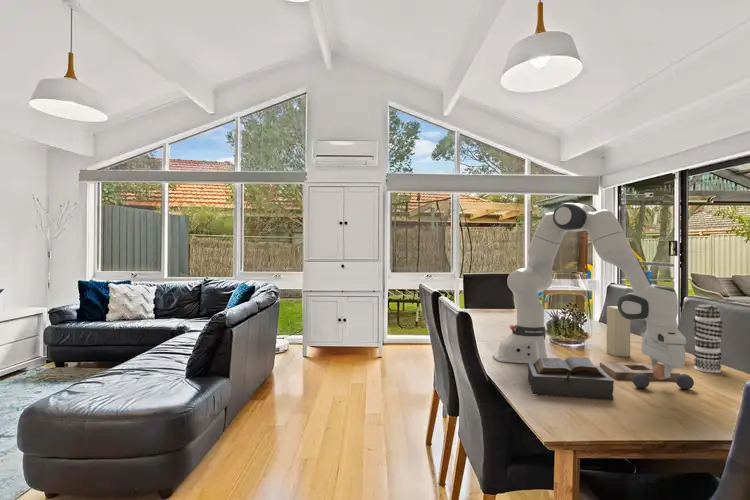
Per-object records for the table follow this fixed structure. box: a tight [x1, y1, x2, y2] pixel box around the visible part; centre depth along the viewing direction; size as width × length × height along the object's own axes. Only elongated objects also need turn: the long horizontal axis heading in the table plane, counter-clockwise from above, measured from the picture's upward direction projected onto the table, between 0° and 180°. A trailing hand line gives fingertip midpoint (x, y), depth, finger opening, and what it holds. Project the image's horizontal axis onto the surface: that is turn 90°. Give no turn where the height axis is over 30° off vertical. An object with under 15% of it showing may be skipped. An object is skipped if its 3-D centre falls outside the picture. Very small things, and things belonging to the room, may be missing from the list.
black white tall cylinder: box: [692, 304, 723, 374], centre depth 174 cm, size 9×9×25 cm
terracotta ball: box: [652, 363, 666, 379], centre depth 151 cm, size 5×5×5 cm
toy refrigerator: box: [606, 305, 632, 357], centre depth 199 cm, size 8×7×21 cm
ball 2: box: [675, 373, 695, 390], centre depth 150 cm, size 5×5×5 cm
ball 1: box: [631, 373, 651, 389], centre depth 152 cm, size 5×5×5 cm
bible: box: [527, 356, 615, 401], centre depth 151 cm, size 23×27×10 cm
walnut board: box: [599, 361, 681, 381], centre depth 168 cm, size 22×14×2 cm, turn 85°
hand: (661, 374), depth 151 cm, fingers closed on terracotta ball, 5 cm apart
